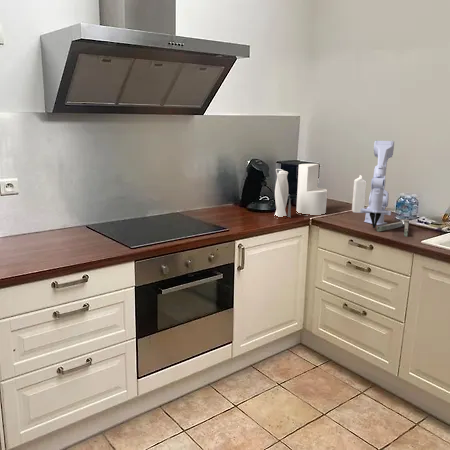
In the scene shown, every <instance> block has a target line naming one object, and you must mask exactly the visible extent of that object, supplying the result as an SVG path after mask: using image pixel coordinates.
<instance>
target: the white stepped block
mask: <svg viewBox="0 0 450 450" xmlns="http://www.w3.org/2000/svg"><path fill="white" fill-rule="evenodd" d="M319 168H320V164H319V163H301V164H300V163H299V164H298V170H297V171H298V173H297V174H298V175H297V191H296V194H297V195H296V211H297V212H298V213H302V214H310V215H321V214H325V213H327V200H328V199H327V198H328V189H327V188H323V187H318V184H319ZM297 212H296V213H297ZM298 213H297V214H298ZM325 215H326V214H325ZM321 216H322V215H321Z"/></svg>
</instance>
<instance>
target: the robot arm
mask: <svg viewBox="0 0 450 450" xmlns="http://www.w3.org/2000/svg"><path fill="white" fill-rule="evenodd" d="M373 142H374V143H373V154H374V157H375V158H376V159H377V165H375V166H374V169H373V176H372V178H371V181H370V189H371V190H370V192H369V196H368V197H369V198H368V206H367V207H366V208H364V209H363V208H361V212H360V213H359V214H365V216H364V217H365V218H364V221H363V222H364V223H367V224H372V225H371V226H372V228H373V229H377V226H381V225H386V224H388V222H385V215H386V216H391V214H392V211H391V210H387V209H386V208H387V207H388V206H389V201H390V200H389V199H390V197H389V196H390V195H389V191H387V190H386V189H385V188H386V180H387V179H386V173H387V166H388V161H389V159H390V158H393V155H394V149H395V141H394V140H377V139H376V140H375V141H373Z"/></svg>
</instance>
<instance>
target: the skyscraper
mask: <svg viewBox="0 0 450 450" xmlns="http://www.w3.org/2000/svg"><path fill="white" fill-rule="evenodd" d="M275 173H276V176H277V177H276V181H275V187H274V200H275V202H274V203H275V209H276V210H275V212H274V216H275V215H276V216H278V217H283V216H287V217H290V218H292V217H291V215H292V213H291V212H292V211H291V209H292V208H291V207H292V204H291V199H289V182H288V174H289V172H288V171H286V170H284V169H281V168H276V169H275ZM288 199H289V200H288ZM287 203H288V204H287ZM287 205H288V206H287ZM286 207H287V212H286Z"/></svg>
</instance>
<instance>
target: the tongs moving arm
mask: <svg viewBox="0 0 450 450" xmlns="http://www.w3.org/2000/svg"><path fill="white" fill-rule="evenodd" d="M405 223H407V222H400V221H398V222H393V223H387V224H382V225H376V231H377V232H383V231H390V230H393V229H398V228H405Z"/></svg>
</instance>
